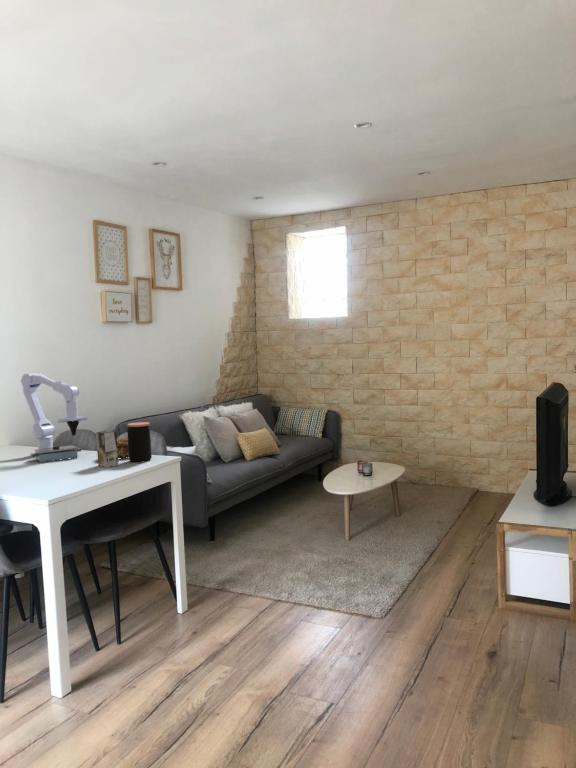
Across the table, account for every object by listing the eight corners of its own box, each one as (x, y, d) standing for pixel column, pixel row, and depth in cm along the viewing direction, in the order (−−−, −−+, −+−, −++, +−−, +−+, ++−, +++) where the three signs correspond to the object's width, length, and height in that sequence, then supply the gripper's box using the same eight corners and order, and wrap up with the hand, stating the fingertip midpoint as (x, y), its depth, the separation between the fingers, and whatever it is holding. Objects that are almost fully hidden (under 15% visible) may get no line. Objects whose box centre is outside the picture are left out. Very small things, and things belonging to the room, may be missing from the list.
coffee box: (119, 465, 294) (117, 431, 293) (106, 467, 290) (103, 432, 289) (110, 463, 301) (108, 429, 300) (97, 465, 297) (95, 431, 296)
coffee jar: (154, 458, 310) (152, 421, 309) (147, 462, 299) (145, 424, 298) (133, 458, 311) (131, 422, 310) (125, 462, 300) (123, 425, 299)
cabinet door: (34, 451, 323) (33, 447, 323) (71, 446, 333) (71, 443, 332) (38, 453, 310) (38, 449, 310) (77, 449, 320) (77, 445, 320)
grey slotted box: (29, 459, 322) (28, 452, 322) (77, 453, 334) (77, 446, 334) (33, 463, 310) (33, 455, 309) (83, 457, 322) (83, 449, 321)
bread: (108, 461, 308) (107, 441, 307) (102, 458, 317) (100, 438, 316) (145, 456, 318) (144, 436, 317) (138, 453, 327) (137, 434, 326)
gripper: (59, 411, 322) (60, 437, 322) (88, 408, 329) (89, 434, 330) (56, 410, 328) (58, 436, 329) (85, 407, 335) (86, 433, 336)
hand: (73, 435), depth 330 cm, fingers closed
